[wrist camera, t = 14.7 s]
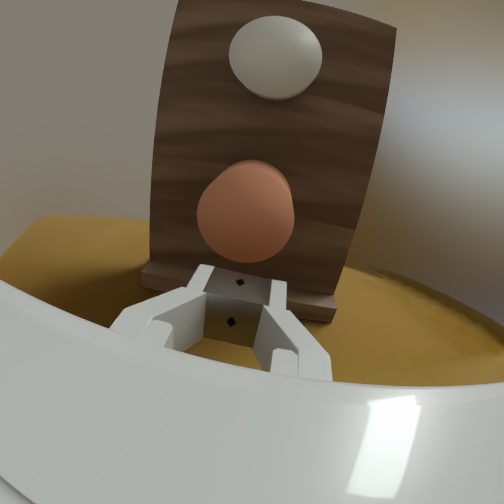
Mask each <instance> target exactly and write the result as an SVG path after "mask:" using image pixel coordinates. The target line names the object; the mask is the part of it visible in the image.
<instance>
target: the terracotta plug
mask: <svg viewBox="0 0 504 504" xmlns="http://www.w3.org/2000/svg"><path fill="white" fill-rule="evenodd" d="M197 222H198V226H199V230H200V232H201V235H202V237H203V238H204V240H205V241H206V243H207V244H208V245H209V246H210V247H211V248H212V249H213V250H214V251H215V252H216V253H218V254H219V255H221V256H223V257H225V258H226V259H229V260H232V261H236V262H241V263H254V262H259V261H263V260H266V259H268V258H270V257H272V256H274V255H275V254H277V253H278V252H279V251H280V250H281V249H282V248H283V247H284V246H285V245H286V243H287V242H288V240H289V238H290V236H291V234H292V231H293V227H294V210H293V203H292V196H291V190H290V187H289V184H288V182H287V180H286V178H285V177H284V175H283V174H282V173H281V172H280V171H279V170H278V169H277V168H275V167H274V166H272V165H270V164H269V163H266V162H263V161H259V160H244V161H240V162H237V163H235V164H233V165H231V166H230V167H228V168H227V169H226V170H225V171H223V172H222V173H221V174H220V175H219V176H218V177H217V178H216V179H215V180H214V181H213V182H212V183H211V184H210V185H209V186H208V187H207V188H206V189H205V191H204V192H203V194H202V196H201V198H200V200H199V204H198V209H197Z"/></svg>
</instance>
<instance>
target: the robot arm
mask: <svg viewBox="0 0 504 504" xmlns="http://www.w3.org/2000/svg"><path fill="white" fill-rule="evenodd" d="M286 294H287V283H286V282H285V281H279V280H273V279H268V278H262V277H257V276H252V275H246V274H243V273H238V272H234V271H230V270H226V269H222V268H217V267H214V266H209V265H204V264H200V265H199V266H198V268H197V269H196V271H195V273H194V275H193V276H192V278H191V280H190V281H189V283H188V285H187V286H186V288H185V287H180V288H177V289H175V290H172V291H169V292H167V293H164V294H161V295H159V296H156V297H154V298H151V299H148V300H146V301H143V302H140V303H138V304H135V305H132V306H130V307H127V308H124V310H123V311H122V312H121V313H120V315H119V316H118V317H117V319H116V320H115V321H114V323H113V324H112V325H111V327H110V328H109V329H108V328H106V327H103V326H100V325H98V324H95V323H92V322H90V321H87V320H85V319H82V318H80V317H78V316H75V315H73V314H70V313H68V312H66V311H63V310H61V309H59V308H57V307H54V306H52V305H50V304H48V303H45V302H43V301H41V300H39V299H37V298H35V297H33V296H31V295H29V294H27V293H25V292H23V291H21V290H19V289H17V288H15V287H13V286H11V285H9V284H7V283H6V282H4V281H2V280H0V504H504V382H501V383H491V384H480V385H465V386H434V387H416V386H385V385H368V384H355V383H344V382H335V381H332V371H331V361H330V355H329V354H328V353H327V352H326V351H325V350H324V349H323V347H322V346H321V345H320V344H319V343H318V342H317V341H316V340H315V338H314V337H313V336H312V335H311V334H310V333H309V332H308V330H307V329H306V328H305V327H304V326H303V325H302V324H301V322H300V321H299V320H298V319H297V318H296V317H295V316H294V315H293V313H292V312H291V311H290V310H286ZM203 337H206V338H210V339H215V340H220V341H224V342H229V343H233V344H237V345H241V346H245V347H250V348H253V351H254V353H255V355H256V357H257V359H258V361H259V363H260V365H261V367H262V369H263V371H261V370H256V369H251V368H246V367H241V366H236V365H232V364H227V363H223V362H218V361H214V360H210V359H206V358H202V357H198V356H194V355H191V354H187V353H183V352H184V351H185V350H187V349H188V348H189V347H191V346H192V345H194V344H195V343H197V342H198V341H199V340H201V339H202V338H203Z"/></svg>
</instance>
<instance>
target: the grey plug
mask: <svg viewBox="0 0 504 504" xmlns="http://www.w3.org/2000/svg"><path fill="white" fill-rule="evenodd" d="M229 61H230V65H231V68H232V70H233V72H234V74H235V75H236V77H237V78H238V79H239V80H240V81H241V82H242V83H243V84H244V85H245V87H246V88H247V89H248V90H249V91H251V92H252V93H253V94H255V95H256V96H258V97H260V98H263V99H265V100H270V101H285V100H289V99H292V98H295V97H296V96H298V95H300V94H301V93H303V92H304V91H305V90H306V89H307V87H308V86H309V85H310V84H311V82H312V81H313V80H314V79H315V78H316V76H317V74H318V73H319V70H320V68H321V64H322V50H321V46H320V44H319V41H318V40H317V38H316V36H315V35H314V34H313V32H312V31H311V30H310V29H309V28H307V27H306V26H305V25H303V24H302V23H300V22H298V21H296V20H294V19H291V18H288V17H283V16H266V17H261V18H258V19H255V20H253V21H251V22H249V23H247V24H246V25H244V26H243V27H242V28H241V29H240V30H239V31H238V32H237V33H236V35H235V36H234V38H233V40H232V42H231V45H230V48H229Z"/></svg>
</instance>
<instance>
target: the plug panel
mask: <svg viewBox="0 0 504 504" xmlns="http://www.w3.org/2000/svg"><path fill="white" fill-rule="evenodd" d="M266 16H283V17H288V18H291V19H294V20H296V21H298V22H300V23H302V24H303V25H305V26H306V27H307V28H309V29H310V30H311V31H312V32H313V34H314V35H315V36H316V38H317V40H318V41H319V44H320V46H321V50H322V64H321V68H320V70H319V73H318V74H317V76H316V78H315V79H314V80H313V81H312V82H311V84H310V85H309V86H308V87H307V89H306V90H305V91H304V92H303V93H301V94H300V95H298V96H296V97H295V98H292V99H289V100H285V101H270V100H265V99H263V98H260V97H258V96H256V95H255V94H253V93H252V92H251V91H249V90H248V89H247V88H246V87H245V85H244V84H243V83H242V82H241V81H240V80H239V79H238V78H237V77H236V75H235V74H234V72H233V70H232V68H231V65H230V61H229V48H230V45H231V42H232V40H233V38H234V36H235V35H236V33H237V32H238V31H239V30H240V29H241V28H242V27H243V26H244V25H246V24H247V23H249V22H251V21H253V20H255V19H258V18H261V17H266ZM396 30H397V28H395V27H393V26H390V25H388V24H385V23H382V22H379V21H377V20H374V19H371V18H368V17H365V16H362V15H359V14H355V13H352V12H348V11H345V10H342V9H337V8H334V7H330V6H326V5H322V4H317V3H312V2H307V1H302V0H179V1H178V5H177V9H176V13H175V17H174V21H173V25H172V29H171V34H170V39H169V43H168V49H167V54H166V59H165V64H164V70H163V76H162V82H161V89H160V96H159V103H158V111H157V119H156V128H155V138H154V148H153V161H152V176H151V197H150V260H149V262H148V263H147V264H146V265H145V266H144V268H143V269H142V270H141V271H140V274H141V287H145V288H149V289H153V290H157V291H161V292H166V293H167V292H169V291H172V290H175V289H177V288H180V287H185V288H186V286H187V285H188V283H189V281H190V280H191V278H192V276H193V275H194V273H195V271H196V269H197V268H198V266H199V265H200V264H204V265H209V266H214V267H217V268H222V269H226V270H230V271H234V272H238V273H243V274H246V275H252V276H257V277H262V278H268V279H273V280H279V281H285V282H286V283H287V294H286V310H290V311H291V312H292V313H293V315H294V316H295V317H296V318H300V319H307V320H314V321H320V322H327V323H331V322H332V320H333V317H334V315H335V312H336V310H337V307H336V303H335V299H334V295H333V294H334V292H335V289H336V286H337V283H338V281H339V278H340V275H341V272H342V269H343V266H344V263H345V260H346V257H347V254H348V251H349V248H350V245H351V242H352V239H353V236H354V233H355V229H356V226H357V223H358V219H359V216H360V213H361V209H362V206H363V202H364V198H365V195H366V191H367V187H368V183H369V180H370V176H371V172H372V168H373V164H374V159H375V155H376V151H377V147H378V142H379V138H380V133H381V128H382V123H383V119H384V113H385V108H386V103H387V97H388V91H389V84H390V78H391V71H392V65H393V57H394V49H395V39H396ZM244 160H259V161H263V162H266V163H269V164H270V165H272V166H274V167H275V168H277V169H278V170H279V171H280V172H281V173H282V174H283V175H284V177H285V178H286V180H287V182H288V184H289V187H290V190H291V196H292V203H293V210H294V227H293V231H292V234H291V236H290V238H289V240H288V242H287V243H286V245H285V246H284V247H283V248H282V249H281V250H280V251H279V252H278V253H277V254H275V255H274V256H272V257H270V258H268V259H266V260H263V261H259V262H254V263H241V262H236V261H232V260H229V259H226V258H225V257H223V256H221V255H219V254H218V253H216V252H215V251H214V250H213V249H212V248H211V247H210V246H209V245H208V244H207V243H206V241H205V240H204V238H203V237H202V235H201V232H200V230H199V226H198V222H197V209H198V204H199V200H200V198H201V196H202V194H203V192H204V191H205V189H206V188H207V187H208V186H209V185H210V184H211V183H212V182H213V181H214V180H215V179H216V178H217V177H218V176H219V175H220V174H221V173H222V172H223V171H225V170H226V169H227V168H228V167H230V166H231V165H233V164H235V163H237V162H240V161H244Z"/></svg>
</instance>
